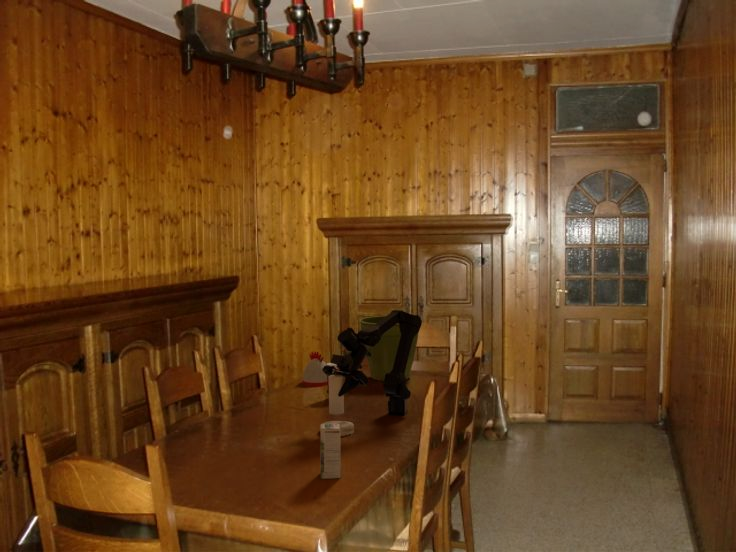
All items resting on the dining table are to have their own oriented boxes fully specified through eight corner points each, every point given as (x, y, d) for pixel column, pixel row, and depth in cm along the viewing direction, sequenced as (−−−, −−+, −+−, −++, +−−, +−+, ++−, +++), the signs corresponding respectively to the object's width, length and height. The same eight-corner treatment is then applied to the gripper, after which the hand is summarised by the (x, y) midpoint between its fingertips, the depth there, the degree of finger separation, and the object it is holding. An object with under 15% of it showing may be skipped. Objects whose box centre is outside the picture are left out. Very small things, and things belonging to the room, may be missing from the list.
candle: (343, 410, 243) (343, 371, 242) (344, 414, 238) (343, 374, 237) (329, 410, 243) (328, 372, 242) (329, 414, 237) (328, 375, 237)
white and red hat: (315, 378, 332) (314, 348, 331) (337, 382, 323) (337, 350, 323) (296, 384, 320) (295, 352, 319) (318, 387, 312) (318, 355, 311)
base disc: (358, 428, 244) (358, 421, 244) (347, 437, 233) (347, 431, 233) (327, 425, 248) (327, 419, 248) (314, 435, 237) (314, 428, 237)
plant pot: (364, 371, 347) (363, 315, 345) (423, 372, 343) (422, 315, 341) (355, 384, 317) (354, 323, 316) (419, 385, 313) (418, 323, 312)
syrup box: (320, 472, 199) (319, 423, 198) (340, 471, 199) (339, 422, 199) (320, 479, 193) (319, 429, 192) (341, 478, 194) (340, 428, 193)
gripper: (325, 343, 248) (303, 378, 241) (362, 348, 235) (340, 385, 228) (341, 361, 254) (320, 395, 247) (378, 367, 242) (356, 404, 234)
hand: (333, 394), depth 239 cm, fingers closed on candle, 5 cm apart
